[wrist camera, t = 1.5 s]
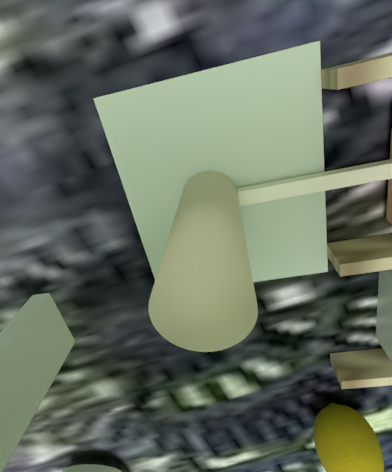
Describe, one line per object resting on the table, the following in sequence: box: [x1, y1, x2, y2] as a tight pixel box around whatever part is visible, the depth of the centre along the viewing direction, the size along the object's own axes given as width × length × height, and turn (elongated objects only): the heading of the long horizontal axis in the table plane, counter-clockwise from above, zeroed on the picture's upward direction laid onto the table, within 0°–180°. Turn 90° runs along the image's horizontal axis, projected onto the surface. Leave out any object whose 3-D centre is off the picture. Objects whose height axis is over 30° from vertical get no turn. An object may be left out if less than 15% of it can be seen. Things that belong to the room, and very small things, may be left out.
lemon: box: [313, 403, 384, 472], centre depth 28 cm, size 6×6×8 cm
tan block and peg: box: [148, 130, 392, 352], centre depth 15 cm, size 22×8×12 cm, turn 103°
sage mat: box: [93, 41, 328, 282], centre depth 22 cm, size 14×16×1 cm
